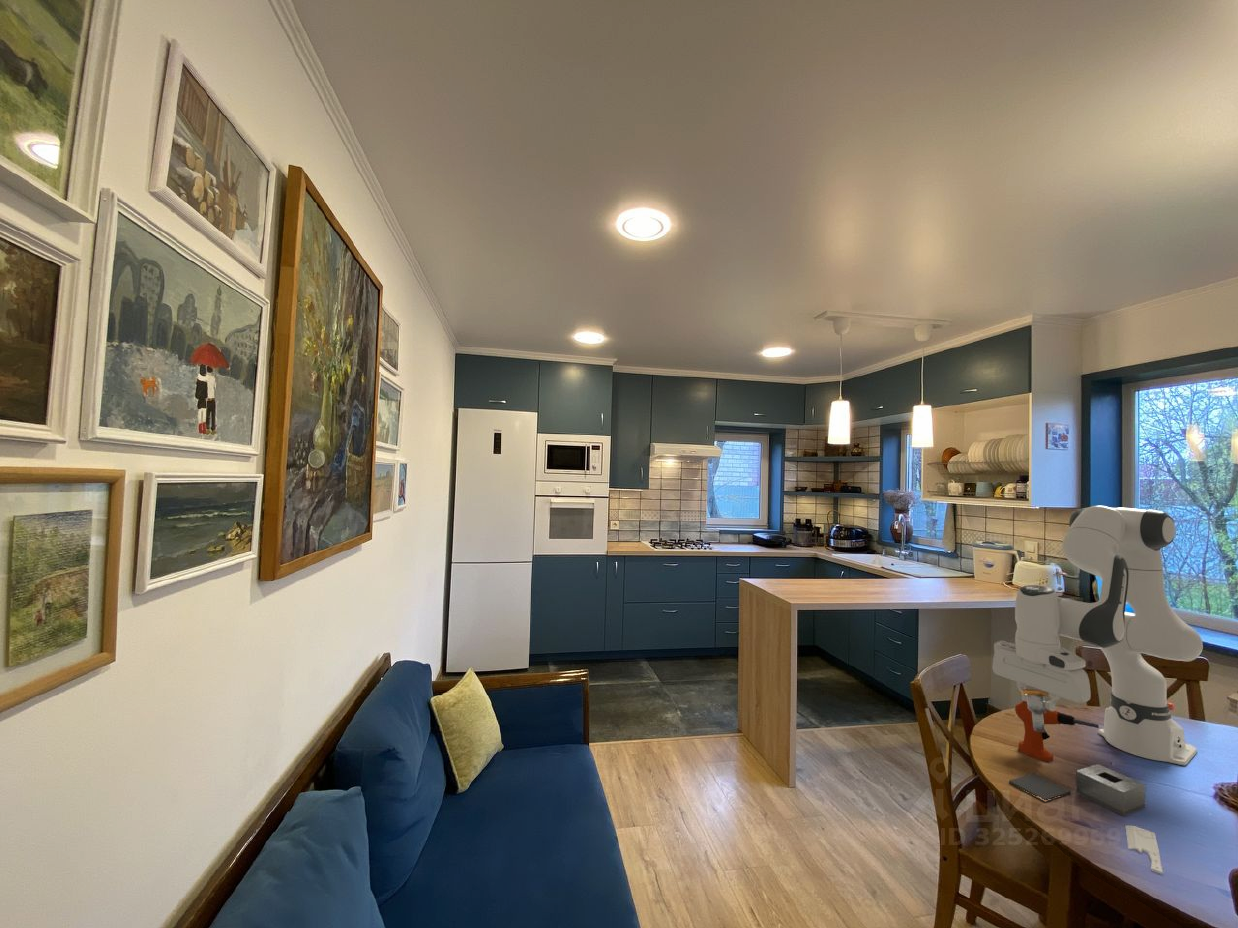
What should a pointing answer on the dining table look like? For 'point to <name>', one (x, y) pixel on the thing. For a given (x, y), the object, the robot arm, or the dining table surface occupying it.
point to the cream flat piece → (1144, 845)
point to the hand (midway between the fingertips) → (1038, 705)
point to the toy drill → (1035, 739)
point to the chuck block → (1110, 789)
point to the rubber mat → (1039, 786)
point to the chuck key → (1036, 707)
